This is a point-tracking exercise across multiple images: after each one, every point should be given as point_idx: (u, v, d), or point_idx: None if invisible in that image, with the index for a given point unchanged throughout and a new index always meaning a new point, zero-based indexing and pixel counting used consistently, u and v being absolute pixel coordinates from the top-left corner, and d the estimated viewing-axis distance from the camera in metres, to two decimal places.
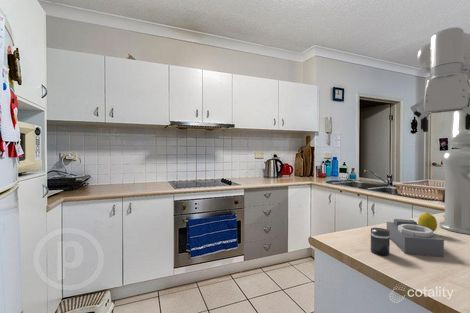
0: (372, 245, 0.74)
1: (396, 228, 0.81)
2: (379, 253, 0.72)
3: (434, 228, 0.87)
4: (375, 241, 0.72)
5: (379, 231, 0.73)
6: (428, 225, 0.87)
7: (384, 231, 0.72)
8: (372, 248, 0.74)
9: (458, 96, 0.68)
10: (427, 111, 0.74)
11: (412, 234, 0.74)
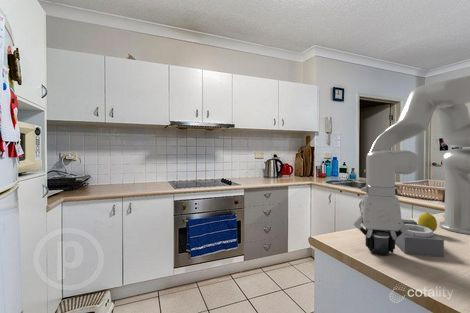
0: None
1: None
2: (379, 253, 0.72)
3: (434, 228, 0.87)
4: (375, 241, 0.72)
5: (379, 231, 0.73)
6: (428, 225, 0.87)
7: (384, 231, 0.72)
8: None
9: None
10: None
11: (412, 234, 0.74)
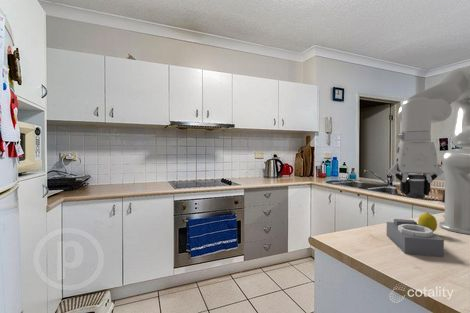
0: None
1: (396, 228, 0.81)
2: (415, 195, 0.75)
3: (434, 228, 0.87)
4: (411, 185, 0.76)
5: (415, 175, 0.76)
6: (428, 225, 0.87)
7: (420, 175, 0.76)
8: None
9: None
10: None
11: (412, 234, 0.74)
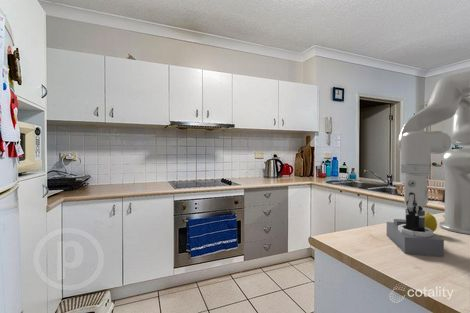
0: None
1: (396, 228, 0.81)
2: None
3: (434, 228, 0.87)
4: (421, 222, 0.75)
5: (419, 211, 0.76)
6: (428, 225, 0.87)
7: (419, 210, 0.77)
8: (417, 230, 0.75)
9: None
10: None
11: (412, 234, 0.74)
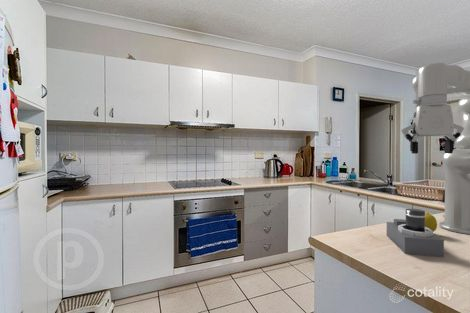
0: (417, 227, 0.75)
1: (396, 228, 0.81)
2: None
3: (434, 228, 0.87)
4: (421, 222, 0.75)
5: (420, 211, 0.76)
6: (428, 225, 0.87)
7: (419, 210, 0.77)
8: (417, 230, 0.75)
9: None
10: None
11: (412, 234, 0.74)
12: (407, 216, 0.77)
